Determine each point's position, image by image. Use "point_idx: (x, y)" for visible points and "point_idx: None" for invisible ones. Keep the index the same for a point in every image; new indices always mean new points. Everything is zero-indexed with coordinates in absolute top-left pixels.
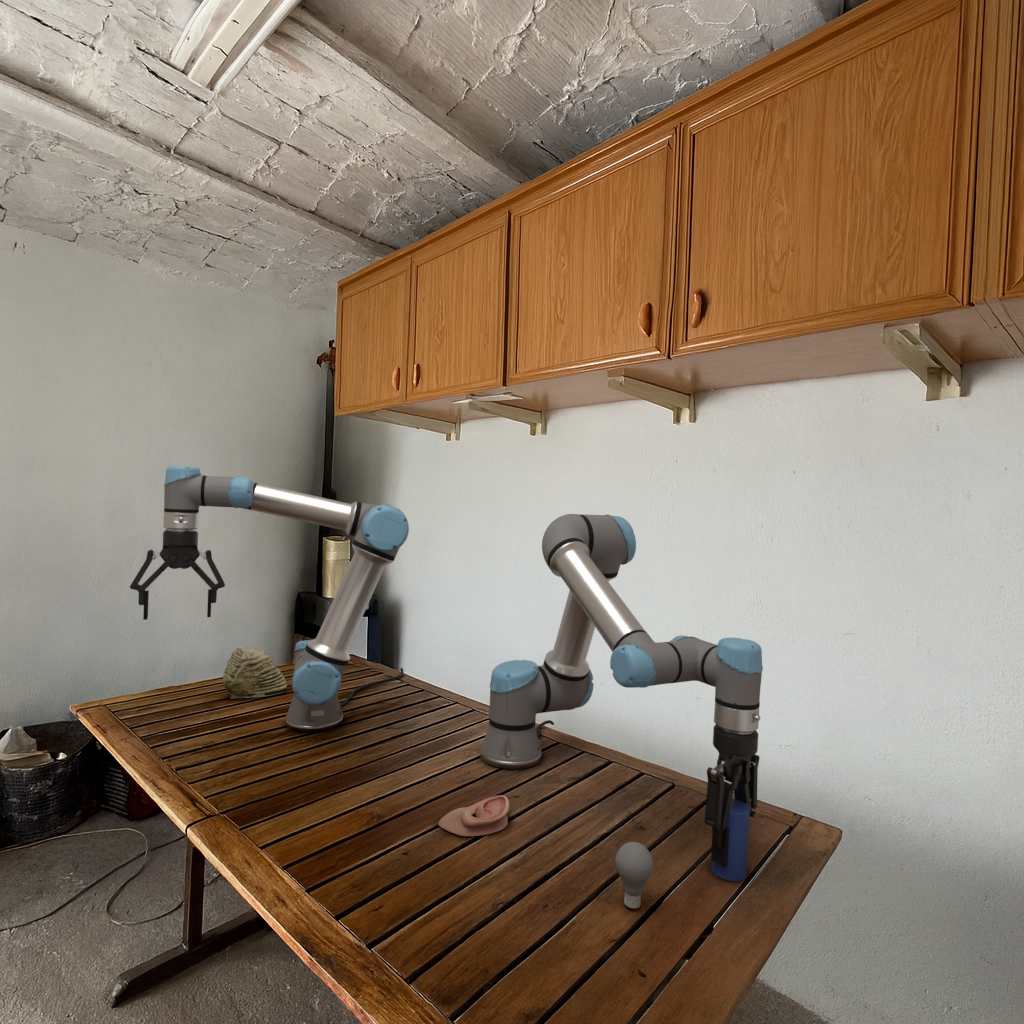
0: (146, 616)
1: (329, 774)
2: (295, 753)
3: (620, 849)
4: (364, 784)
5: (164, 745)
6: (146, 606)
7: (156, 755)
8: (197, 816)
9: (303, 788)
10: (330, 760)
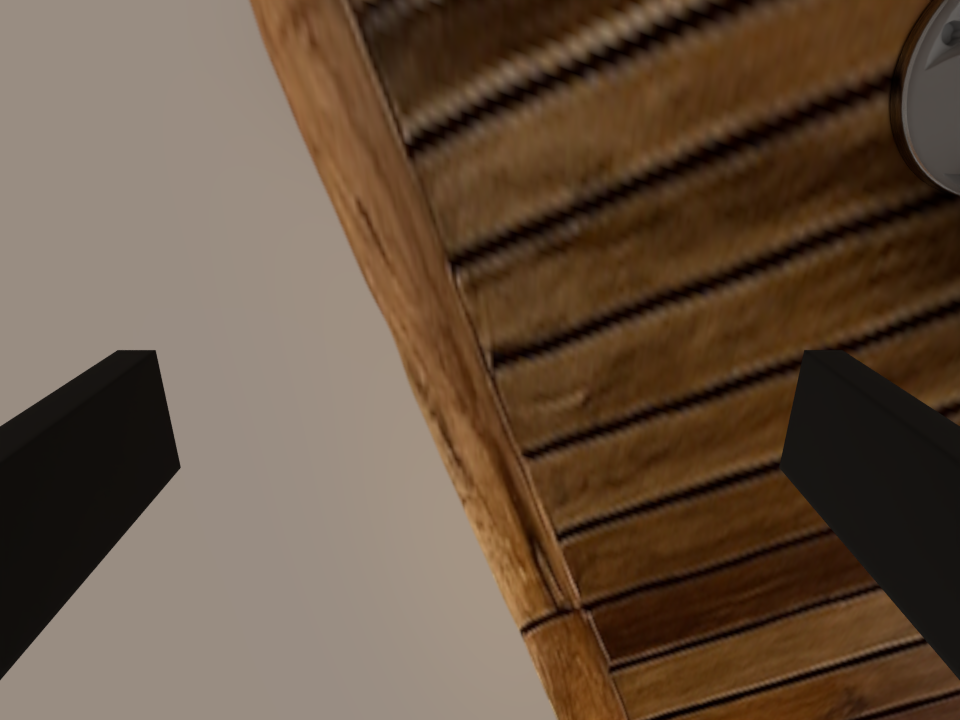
0: (157, 486)
1: None
2: None
3: None
4: None
5: (449, 142)
6: (84, 568)
7: (431, 231)
8: (538, 606)
9: (769, 562)
10: None
